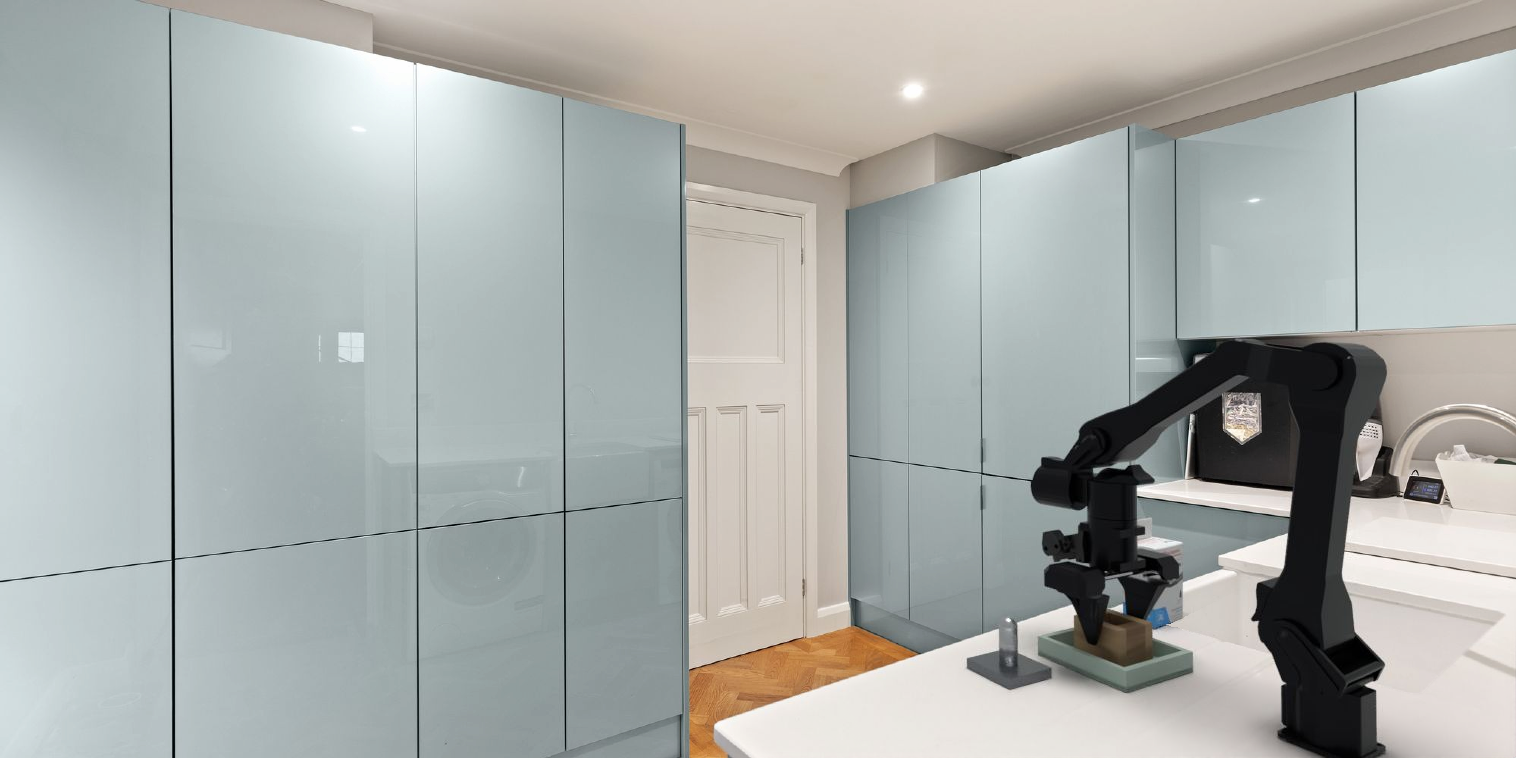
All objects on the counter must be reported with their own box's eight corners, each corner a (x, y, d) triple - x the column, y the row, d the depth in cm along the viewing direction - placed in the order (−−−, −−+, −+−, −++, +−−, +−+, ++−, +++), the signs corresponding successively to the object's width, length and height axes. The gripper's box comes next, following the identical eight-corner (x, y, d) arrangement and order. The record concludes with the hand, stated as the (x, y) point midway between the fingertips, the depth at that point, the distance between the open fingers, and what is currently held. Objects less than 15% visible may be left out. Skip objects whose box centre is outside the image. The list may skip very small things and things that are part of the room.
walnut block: (1152, 662, 87) (1152, 622, 87) (1119, 672, 84) (1118, 631, 85) (1107, 645, 93) (1106, 608, 93) (1074, 654, 90) (1073, 615, 90)
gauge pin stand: (1051, 677, 85) (1051, 620, 85) (1009, 689, 81) (1009, 630, 81) (1007, 657, 91) (1007, 604, 91) (966, 667, 88) (966, 612, 88)
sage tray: (1193, 671, 86) (1192, 651, 86) (1126, 692, 80) (1125, 671, 80) (1102, 638, 97) (1102, 620, 97) (1037, 654, 92) (1037, 635, 92)
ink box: (1155, 630, 100) (1154, 528, 100) (1121, 620, 105) (1120, 522, 105) (1185, 618, 105) (1184, 521, 105) (1151, 609, 109) (1150, 516, 109)
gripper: (1104, 501, 100) (1105, 609, 100) (1009, 512, 92) (1010, 631, 92) (1181, 513, 90) (1182, 634, 90) (1082, 528, 82) (1083, 661, 82)
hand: (1113, 638), depth 89 cm, fingers open, 8 cm apart
